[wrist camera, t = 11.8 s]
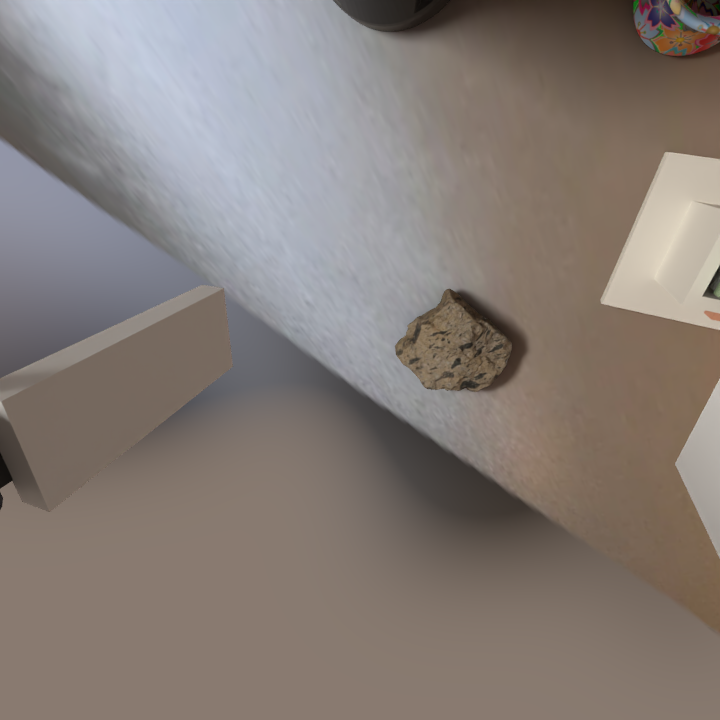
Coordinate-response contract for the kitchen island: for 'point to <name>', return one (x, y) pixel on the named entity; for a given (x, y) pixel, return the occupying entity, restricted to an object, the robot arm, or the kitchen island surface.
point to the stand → (673, 245)
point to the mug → (678, 25)
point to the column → (716, 283)
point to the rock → (454, 347)
